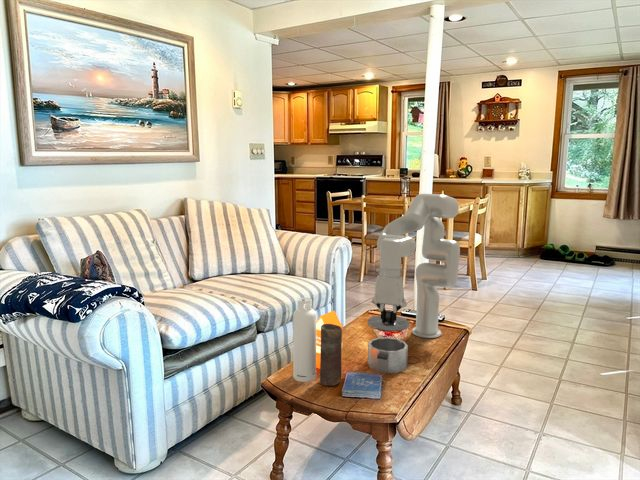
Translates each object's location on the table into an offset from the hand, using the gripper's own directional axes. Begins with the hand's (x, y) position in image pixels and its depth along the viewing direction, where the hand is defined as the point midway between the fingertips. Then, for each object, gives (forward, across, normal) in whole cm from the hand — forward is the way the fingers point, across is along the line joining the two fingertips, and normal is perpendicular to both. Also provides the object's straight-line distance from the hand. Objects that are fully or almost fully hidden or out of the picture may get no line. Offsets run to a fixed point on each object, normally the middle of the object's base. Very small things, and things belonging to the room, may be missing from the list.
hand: (388, 321), depth 174 cm
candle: (+17, -15, -21) cm, 31 cm away
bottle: (+17, -25, -20) cm, 36 cm away
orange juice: (+17, -21, -8) cm, 28 cm away
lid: (+1, 0, 0) cm, 1 cm away
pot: (+17, 0, 0) cm, 17 cm away
